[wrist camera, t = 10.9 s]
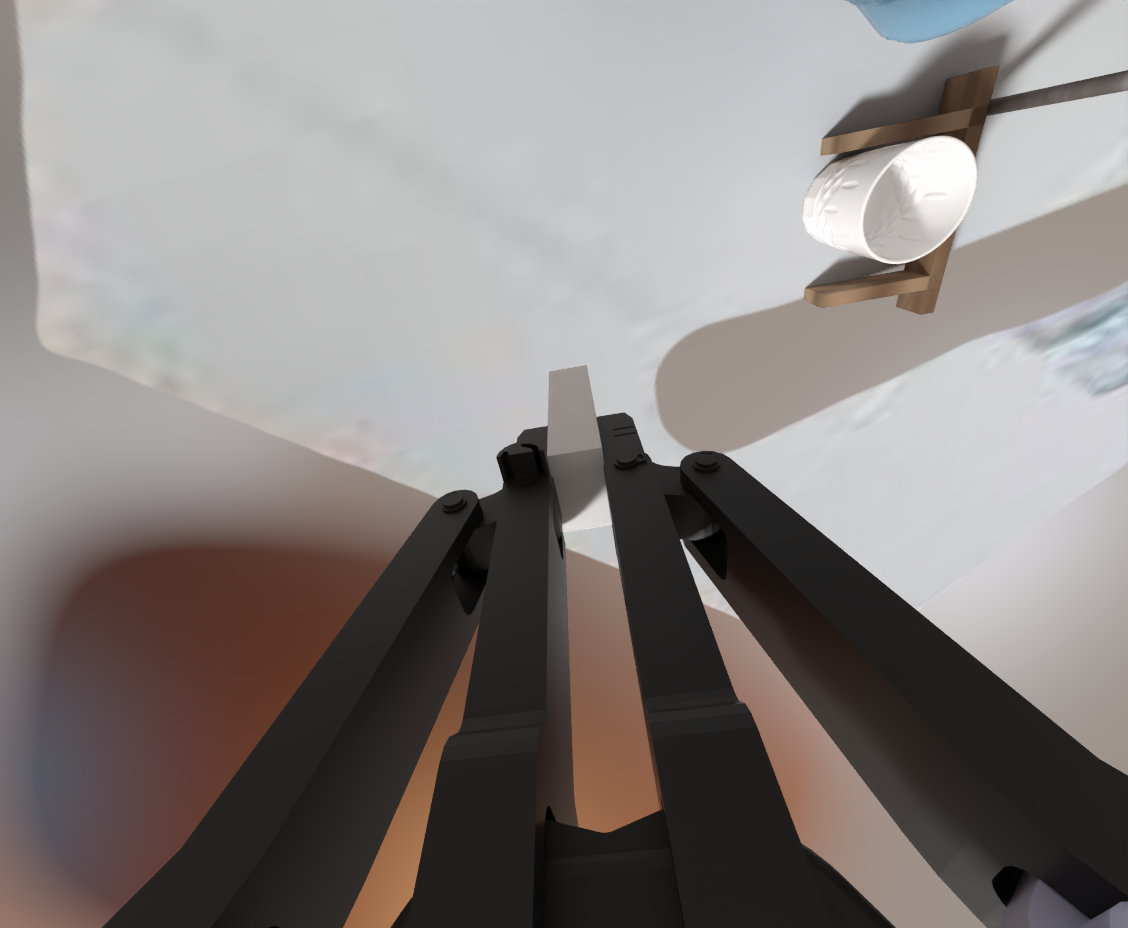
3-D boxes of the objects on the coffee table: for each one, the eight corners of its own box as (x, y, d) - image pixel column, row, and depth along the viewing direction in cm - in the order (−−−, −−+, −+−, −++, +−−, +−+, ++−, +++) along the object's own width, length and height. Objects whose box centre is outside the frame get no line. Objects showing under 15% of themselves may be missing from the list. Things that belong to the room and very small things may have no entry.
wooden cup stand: (801, 323, 45) (906, 378, 32) (829, 74, 35) (1004, -1, 21) (920, 302, 45) (1081, 349, 31) (985, 41, 34) (1271, -60, 21)
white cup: (783, 187, 39) (848, 185, 30) (873, 126, 37) (970, 106, 28) (809, 266, 43) (874, 285, 34) (893, 215, 40) (984, 221, 32)
